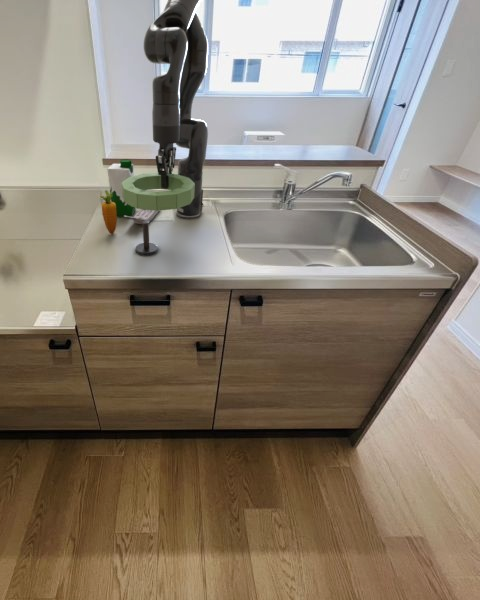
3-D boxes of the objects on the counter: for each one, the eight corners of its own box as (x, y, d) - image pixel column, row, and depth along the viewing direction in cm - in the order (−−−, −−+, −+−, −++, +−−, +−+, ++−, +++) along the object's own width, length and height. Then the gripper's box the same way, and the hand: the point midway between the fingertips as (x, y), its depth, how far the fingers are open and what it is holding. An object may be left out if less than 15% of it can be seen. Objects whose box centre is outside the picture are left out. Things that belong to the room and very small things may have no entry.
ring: (160, 182, 102) (159, 169, 100) (207, 197, 91) (208, 183, 89) (109, 196, 91) (107, 182, 88) (156, 216, 80) (156, 200, 77)
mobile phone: (122, 215, 108) (148, 192, 127) (124, 231, 112) (149, 207, 131) (139, 218, 107) (162, 194, 126) (139, 234, 111) (162, 209, 130)
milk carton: (132, 218, 121) (128, 163, 109) (110, 217, 122) (103, 162, 110) (138, 210, 128) (135, 158, 116) (116, 209, 129) (111, 156, 117)
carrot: (116, 238, 107) (111, 194, 98) (102, 237, 108) (96, 193, 99) (121, 232, 111) (117, 189, 102) (108, 231, 112) (102, 188, 103)
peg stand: (147, 243, 105) (146, 215, 99) (162, 250, 101) (161, 222, 95) (131, 250, 101) (129, 222, 95) (145, 257, 97) (144, 229, 91)
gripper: (172, 127, 80) (172, 194, 91) (185, 119, 91) (183, 180, 102) (144, 125, 82) (147, 192, 92) (160, 118, 93) (161, 178, 103)
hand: (166, 185), depth 97 cm, fingers closed on ring, 3 cm apart
